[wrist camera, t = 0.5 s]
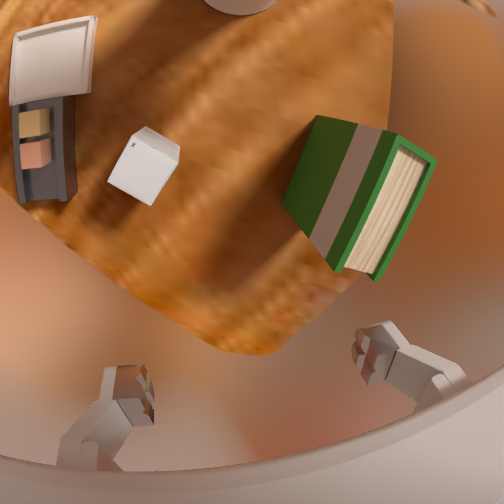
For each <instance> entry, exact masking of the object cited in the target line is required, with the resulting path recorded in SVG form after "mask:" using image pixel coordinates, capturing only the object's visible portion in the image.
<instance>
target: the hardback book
mask: <svg viewBox="0 0 504 504" xmlns="http://www.w3.org/2000/svg"><path fill="white" fill-rule="evenodd" d="M436 164H437V160H436V159H435V158H434V157H432V156H431V155H429V154H428V153H426V152H425V151H423V150H422V149H420V148H419V147H417V146H416V145H414V144H413V143H411V142H409V141H408V140H406V139H405V138H403V137H401V136H400V135H398V134H396V133H392V132H389V131H385V130H381V129H377V128H373V127H369V126H365V125H361V124H357V123H353V122H348V121H344V120H339V119H335V118H330V117H325V116H320V115H317V116H316V118H315V121H314V123H313V126H312V128H311V131H310V133H309V136H308V138H307V141H306V143H305V146H304V148H303V151H302V153H301V156H300V158H299V161H298V163H297V165H296V168H295V170H294V173H293V175H292V178H291V180H290V183H289V185H288V188H287V190H286V193H285V195H284V197H283V200H282V202H281V204H282V206H283V207H284V208H285V209H286V211H287V212H288V213H289V214H290V216H291V217H292V218H293V219H294V221H295V222H296V223H297V224H298V226H299V227H300V228H301V229H302V231H303V232H304V233H305V235H306V236H307V237H308V238H309V240H310V241H311V242H312V244H313V245H314V246H315V247H316V249H317V250H318V251H319V253H320V254H321V255H322V256H323V258H324V259H325V260H326V262H327V263H328V264H329V266H330V267H331V268H332V270H333V271H334V272H337V273H341V271H342V269H343V267H347V268H351V269H355V270H359V271H363V272H366V274H367V275H368V276H369V277H370V278H371V279H372V280H373V281H374V282H379V280H380V278H381V277H382V275H383V273H384V271H385V269H386V268H387V266H388V264H389V262H390V260H391V259H392V257H393V255H394V253H395V251H396V249H397V247H398V245H399V243H400V241H401V240H402V237H403V236H404V233H405V232H406V230H407V228H408V226H409V224H410V222H411V220H412V217H413V215H414V213H415V211H416V209H417V207H418V205H419V203H420V200H421V198H422V196H423V194H424V192H425V189H426V187H427V185H428V183H429V180H430V178H431V175H432V173H433V171H434V168H435V166H436Z"/></svg>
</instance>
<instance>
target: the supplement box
mask: <svg viewBox="0 0 504 504" xmlns="http://www.w3.org/2000/svg"><path fill="white" fill-rule="evenodd" d="M179 154H180V146H179V145H177V144H175V143H174V142H172V141H171V140H169V139H167V138H166V137H164V136H162V135H160V134H159V133H157V132H155V131H154V130H152V129H150V128H148V127H147V126H145V127H144V128H142V129H141V130H139V131H138V132H136V133H135V134H133V135H132V136H131V138H130V139H129V141H128V143H127V145H126V146H125V148H124V150H123V152H122V153H121V155H120V157H119V159H118V161H117V163H116V165H115V167H114V169H113V171H112V173H111V175H110V177H109V179H108V181H107V182H108V183H110V184H112V185H113V186H115V187H117V188H119V189H121V190H122V191H124V192H126V193H128V194H129V195H131V196H133V197H135V198H137V199H138V200H140V201H142V202H144V203H146V204H148V205H149V206H151V205H152V203H153V202H154V200H155V199H156V197H157V196H158V194H159V192H160V191H161V189H162V188H163V186H164V185H165V183H166V182H167V180H168V179H169V177H170V176H171V174H172V173H173V171H174V170H175V168H176V167H177V165H178V164H179Z"/></svg>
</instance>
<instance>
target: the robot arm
mask: <svg viewBox="0 0 504 504" xmlns="http://www.w3.org/2000/svg"><path fill="white" fill-rule="evenodd" d="M204 1H205V2H206V3H207V4H209V5H210V6H211V7H213V8H215V9H217V10H219V11H221V12H224V13H228V14H233V15H250V14H255V13H258V12H261V11H263V10H265V9H267V8H269V7H270V6H272V5H273V4H274V3H275V2H276V1H277V0H204ZM354 336H355V338H356V341H355V342H354V343H353V344H352V350H351V352H352V358H353V361H354V363H355V365H356V366H358V367H359V368H361V369H362V370H361V375H362V377H363V379H364V381H365V382H366V384H367V385H371V384H374V383H377V382H381V381H384V380H386V382H387V383H389V384H390V385H392V386H394V387H395V388H396V389H398V390H400V391H401V392H403V393H405V394H406V395H407V396H409V397H411V398H412V399H413V400H415V401H416V402H418V404H417V405H416V407H415V409H414V410H413V413H412V414H411V415H409V416H407V417H404V418H402V419H400V420H397V421H395V422H393V423H390V424H387V425H385V426H382V427H379V428H377V429H374V430H371V431H368V432H366V433H363V434H360V435H357V436H354V437H351V438H348V439H345V440H342V441H338V442H335V443H332V444H328V445H325V446H321V447H317V448H314V449H310V450H306V451H302V452H298V453H294V454H290V455H285V456H281V457H276V458H271V459H266V460H261V461H255V462H249V463H244V464H236V465H230V466H222V467H214V468H204V469H193V470H180V471H154V472H126V471H125V472H124V471H123V470H122V469H121V468H120V467H119V466H118V465H117V464H116V463H115V462H114V461H113V458H114V457H115V455H116V454H117V452H118V451H119V449H120V448H121V446H122V445H123V443H124V441H125V440H126V438H127V437H128V435H129V434H130V432H131V430H132V429H133V426H147V425H154V409H153V407H152V404H153V402H154V388H153V384H152V382H151V379H150V378H149V377H147V370H146V368H145V365H126V366H125V365H123V366H106V367H105V369H104V373H103V378H102V384H101V389H100V395H99V400H95V401H94V402H93V403H92V404H91V405H90V406H89V407H88V409H87V410H86V411H85V412H84V413H83V414H82V415H81V416H80V417H79V418H78V420H77V421H76V422H75V423H74V424H73V425H72V426H71V427H70V428H69V430H68V431H67V432H66V433H65V434H64V435H63V436H62V437H61V439H60V444H59V451H58V456H57V462H56V466H53V465H47V464H41V463H36V462H30V461H25V460H20V459H16V458H11V457H7V456H3V455H0V504H504V365H502V366H501V367H499V368H498V369H496V370H495V371H493V372H491V373H490V374H488V375H486V376H485V377H483V378H482V379H480V380H478V381H476V382H475V383H473V384H472V382H471V381H470V380H469V378H468V377H467V376H466V374H465V373H464V372H463V371H462V369H461V368H460V367H459V366H458V364H456V363H453V362H451V361H449V360H446V359H444V358H442V357H440V356H438V355H435V354H433V353H431V352H429V351H426V350H424V349H422V348H420V347H417V346H415V345H410V344H409V343H408V342H407V340H406V339H405V338H404V336H403V335H402V334H401V333H400V331H399V330H398V329H397V328H396V326H395V325H394V324H393V322H391V321H386V322H382V323H379V324H375V325H371V326H367V327H363V328H359V329H357V330H356V332H355V335H354Z"/></svg>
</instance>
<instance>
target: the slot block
mask: <svg viewBox="0 0 504 504" xmlns="http://www.w3.org/2000/svg"><path fill="white" fill-rule="evenodd" d="M46 108H50V132H48V133H45V134H42V135H38V136H32V137H25V138H19V113H23V112H28V111H33V110H39V109H46ZM12 135H13V153H14V165H15V175H16V184H17V191H18V198H19V204H26V203H27V202H29V201H33V200H48V199H59V201H68V200H69V199H70V198H71V197H72V196H73V195H74V194H75V193H76V192H77V191H78V189H77V176H76V160H75V96H64V97H57V98H52V99H46V100H41V101H35V102H30V103H25V104H19V105H14V106H12ZM45 138H51V158H52V162H50V163H48V164H47V165H45V166H43V167H40V168H31V169H22V168H21V156H20V144H23V143H26V142H28V141H31V140H38V139H45Z"/></svg>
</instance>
